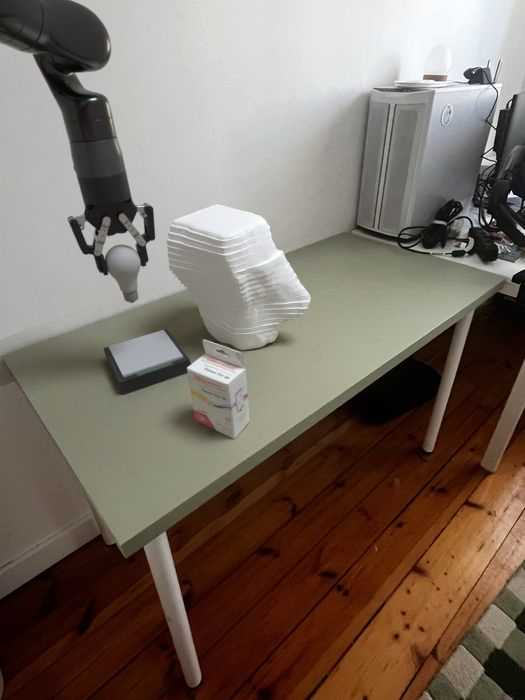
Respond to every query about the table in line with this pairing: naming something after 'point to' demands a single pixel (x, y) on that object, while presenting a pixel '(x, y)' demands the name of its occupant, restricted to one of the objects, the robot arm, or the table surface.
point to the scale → (146, 360)
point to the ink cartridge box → (220, 390)
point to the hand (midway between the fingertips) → (124, 269)
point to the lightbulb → (124, 269)
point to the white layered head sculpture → (235, 275)
